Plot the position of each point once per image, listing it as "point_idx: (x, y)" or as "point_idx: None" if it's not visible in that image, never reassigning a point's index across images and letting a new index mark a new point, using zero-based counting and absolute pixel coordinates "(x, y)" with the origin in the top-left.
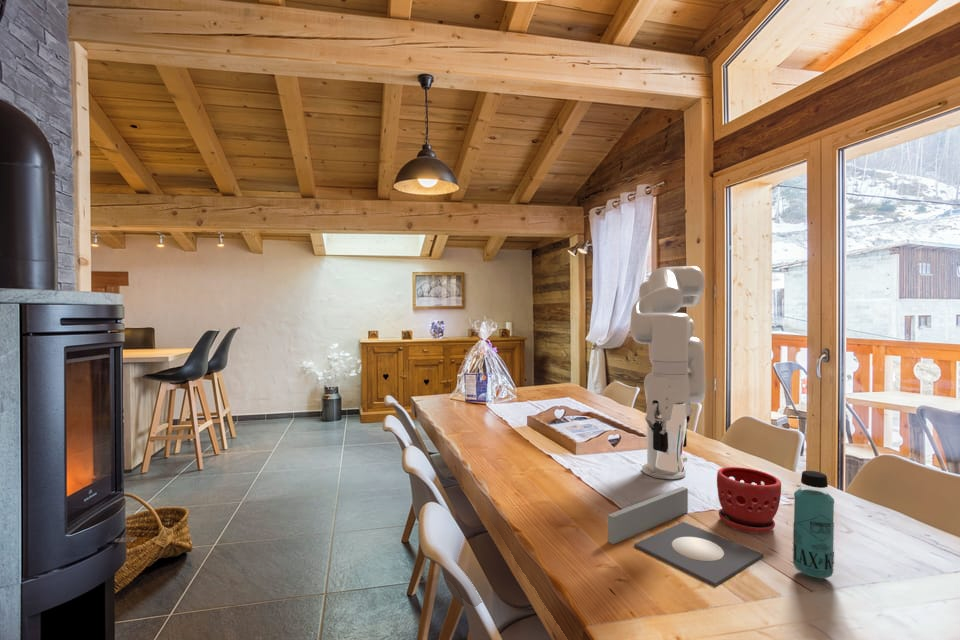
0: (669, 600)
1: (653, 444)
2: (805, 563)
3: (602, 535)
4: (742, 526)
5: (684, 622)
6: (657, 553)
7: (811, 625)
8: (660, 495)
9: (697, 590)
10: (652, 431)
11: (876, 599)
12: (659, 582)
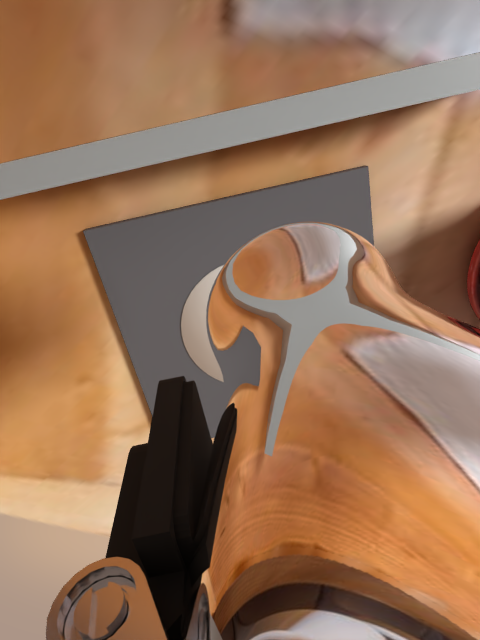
0: (28, 447)
1: (156, 408)
2: None
3: (9, 107)
4: (473, 308)
5: (16, 498)
6: (119, 306)
7: None
8: (349, 89)
9: (115, 440)
10: (73, 597)
11: None
12: (46, 394)
